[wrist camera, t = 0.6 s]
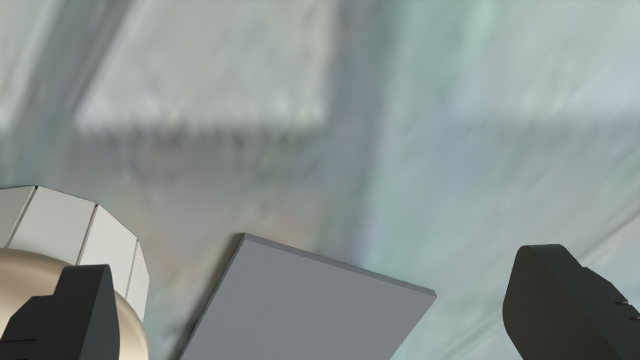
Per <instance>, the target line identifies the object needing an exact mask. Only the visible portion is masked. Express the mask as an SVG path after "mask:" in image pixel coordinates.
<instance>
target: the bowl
mask: <svg viewBox="0 0 640 360" xmlns="http://www.w3.org/2000/svg"><path fill="white" fill-rule="evenodd" d="M94 206H95V202H91V201H88V200H84V199H81V198H78V197H74V196H71V195H68V194H64V193H61V192H58V191H54V190H51V189H47V188H44V187H41V186H39V187H38V189H37V190H36V188H35V186H26V187H18V188H9V189H0V247H1V248H10V249H18V250H24V251H29V252H34V253H39V254H43V255H46V256H50V257H53V258H56V259H59V260H62V261H65V262H67V263H70V264H72V265H96V264H109V266H110V268H111V273H112V279H113V286H114V290H116V291H117V292H118V293H119V294H120V295H121V296H122V297H123V298H124V299H125V300H126V301H127V302H128V303H129V304H130V306H131V307H132V308H133V309H134V310H135V312H136V314H137V315H138V317H139V318H140V320H141V322H142V323H143V317H144V311H145V304H146V298H147V292H148V286H149V275H148V272H147V268H146V265H145V261H144V258H143V254H142V251H141V247H140V244H139V240H137V237H135V236H134V235H133V234H132V233H131V232H130V231H129V230H127V229H126V228H125V227H124V226H123V225H122V224H121V223H119V222H118V221H117V220H116V219H115V218H114V217H113V216H111V215H110V214H109V213H108V212H107V211H106V210H105V209H103V208H102V207H101V206H100V205H98V206H96V207H95V208H94ZM136 240H137V241H136Z"/></svg>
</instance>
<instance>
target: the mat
mask: <svg viewBox="0 0 640 360" xmlns="http://www.w3.org/2000/svg"><path fill="white" fill-rule="evenodd" d="M436 298H437V296H436V293H435V291H432V290H429V289H426V288H422V287H419V286H416V285H413V284H409V283H406V282H403V281H400V280H396V279H393V278H390V277H387V276H383V275H380V274H377V273H374V272H370V271H367V270H364V269H361V268H357V267H354V266H351V265H347V264H344V263H341V262H338V261H334V260H331V259H328V258H325V257H321V256H318V255H315V254H312V253H308V252H305V251H302V250H299V249H295V248H292V247H289V246H286V245H282V244H279V243H276V242H272V241H269V240H266V239H263V238H259V237H256V236H253V235H250V234H246V233H244V235H243V237H242V239H241V241H240V243H239V245H238V247H237V249H236V250H235V252H234V254H233V256H232V258H231V260H230V262H229V264H228V265H227V267H226V269H225V271H224V273H223V275H222V277H221V279H220V281H219V282H218V284H217V286H216V288H215V290H214V292H213V294H212V296H211V298H210V299H209V301H208V303H207V305H206V307H205V309H204V311H203V313H202V315H201V316H200V318H199V320H198V322H197V324H196V326H195V328H194V330H193V332H192V333H191V335H190V337H189V339H188V341H187V343H186V345H185V347H184V349H183V350H182V352H181V354H180V356H179V358H178V360H389V359H390V358H391V357H392V355H393V354H394V353H395V352H396V350H397V349H398V348H399V346H400V345H401V344H402V342H403V341H404V340H405V339H406V337H407V336H408V335H409V333H410V332H411V331H412V329H413V328H414V327H415V326H416V324H417V323H418V322H419V320H420V319H421V318H422V316H423V315H424V314H425V313H426V311H427V310H428V309H429V307H430V306H431V305H432V303H433V302H434V301H435V300H436Z"/></svg>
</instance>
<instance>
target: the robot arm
mask: <svg viewBox="0 0 640 360" xmlns="http://www.w3.org/2000/svg"><path fill="white" fill-rule="evenodd" d="M503 322H504V326H505V329H506V331H507V334H508V336H509V337H510V339H511V340H512V342H513V344H514V345H515V347H516V349H517V350H518V352H519V353H520V355H521V357H522V358H523V360H640V313H639V312H638V311H637V310H636V309H635V308H634V307H633V306H632V305H629V304H628V300H627V299H626V298H625V297H624V296H623V295H622V294H621V293H620V292H619V291H618V290H617V289H616V288H615V287H614V285H613V284H612V283H611V282H609V281H608V280H606V279H604V278H603V277H601V276H600V275H598V274H597V273H595V272H593V271H592V270H590V269H589V268H587V267H582V266H581V265H580V264H579V263H578V261H577V260H576V259H575V258H574V257H573V256H572V255H571V254H570V253H569V251H568V250H567V249H566V248H565V247H564V246H562V245H560V244H545V245H524V246H522V247H520V249H519V250H518V252H517V254H516V257H515V261H514V265H513V269H512V272H511V276H510V280H509V284H508V287H507V291H506V295H505V299H504V302H503ZM119 355H120V328H119V320H118V314H117V307H116V300H115V293H114V286H113V279H112V273H111V268H110V266H109V264H96V265H74V266H65V267H64V268H63V269H62V272H61V274H60V277H59V280H58V282H57V285H56V288H55V290H54V293H53V295H44V296H32V297H31V298H30V299H29V300H28V301H27V302H26V303H25V304H24V305H23V306H21V307H20V308H19V309H18V310H17V311H16V312H15V313H14V314H13V315H12V316H11V317H10V319H9V321H8V323H7V326H6V328H5V330H4V332H3V334H2V337H1V339H0V360H119Z"/></svg>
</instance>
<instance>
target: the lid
mask: <svg viewBox="0 0 640 360" xmlns="http://www.w3.org/2000/svg"><path fill="white" fill-rule="evenodd" d="M65 266H74V265H72V264H70V263H67V262H65V261H62V260H59V259H56V258H53V257H50V256H46V255H43V254H39V253H34V252H29V251H24V250H18V249H10V248H1V247H0V339H1V337H2V334H3V332H4V330H5V328H6V326H7V323H8V321H9V319H10V317H11V316H12V315H13V314H14V313H15V312H16V311H17V310H18V309H19V308H20V307H21V306H23V305H24V304H25V303H26V302H27V301H28V300H29V299H30V298H31V297H32V296H44V295H53V293H54V290H55V288H56V285H57V282H58V280H59V277H60V274H61V272H62V269H63V268H64V267H65ZM114 293H115V300H116V307H117V314H118V320H119V328H120V355H119V360H149V344H148V339H147V334H146V331H145V329H144V327H143V324H142V322H141V320H140V318H139V317H138V315H137V314H136V312H135V310H134V309H133V308H132V307H131V306H130V304H129V303H128V302H127V301H126V300H125V299H124V298H123V297H122V296H121V295H120V294H119V293H118V292H117V291H116V290H114Z"/></svg>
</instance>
